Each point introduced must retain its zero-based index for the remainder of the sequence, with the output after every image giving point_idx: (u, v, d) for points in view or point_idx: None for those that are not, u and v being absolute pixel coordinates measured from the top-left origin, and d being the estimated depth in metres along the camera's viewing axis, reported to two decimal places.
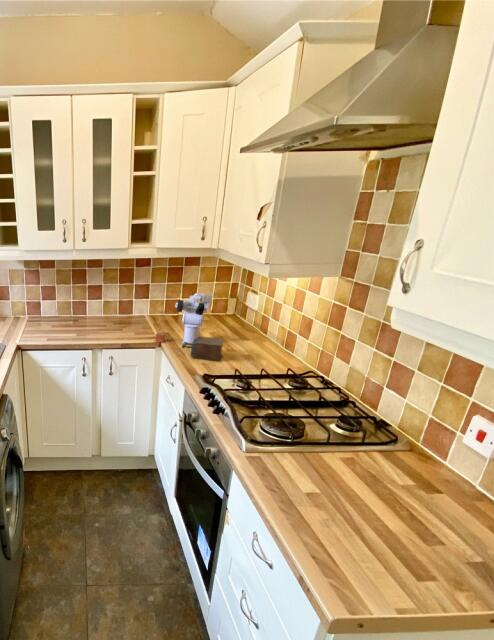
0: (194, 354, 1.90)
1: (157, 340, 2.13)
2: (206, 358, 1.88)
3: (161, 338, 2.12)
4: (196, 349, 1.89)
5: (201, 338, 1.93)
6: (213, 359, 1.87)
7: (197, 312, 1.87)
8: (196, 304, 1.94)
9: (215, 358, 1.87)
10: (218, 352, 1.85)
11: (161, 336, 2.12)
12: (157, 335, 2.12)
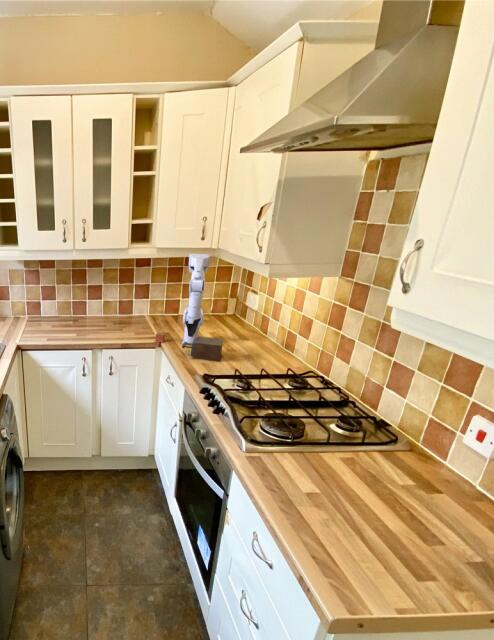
0: (194, 354, 1.90)
1: (157, 340, 2.13)
2: (206, 358, 1.88)
3: (161, 338, 2.12)
4: (196, 349, 1.89)
5: (201, 338, 1.93)
6: (213, 359, 1.87)
7: None
8: None
9: (215, 358, 1.87)
10: (218, 352, 1.85)
11: (161, 336, 2.12)
12: (157, 335, 2.12)
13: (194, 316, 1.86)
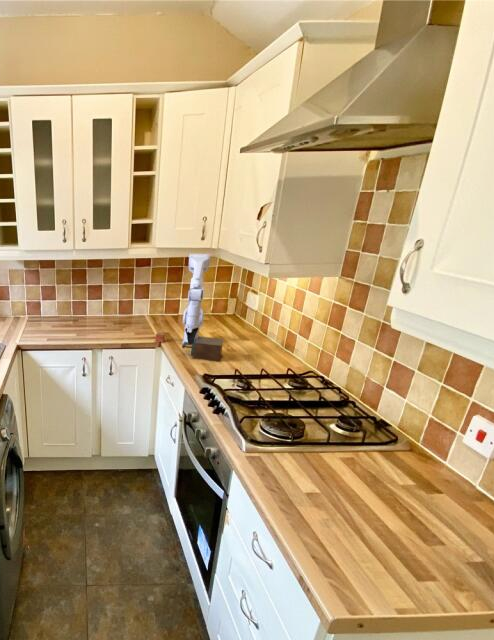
0: (194, 354, 1.90)
1: (157, 340, 2.13)
2: (206, 358, 1.88)
3: (161, 338, 2.12)
4: (196, 349, 1.89)
5: (201, 338, 1.93)
6: (213, 359, 1.87)
7: None
8: None
9: (215, 358, 1.87)
10: (218, 352, 1.85)
11: (161, 336, 2.12)
12: (157, 335, 2.12)
13: (193, 325, 1.88)
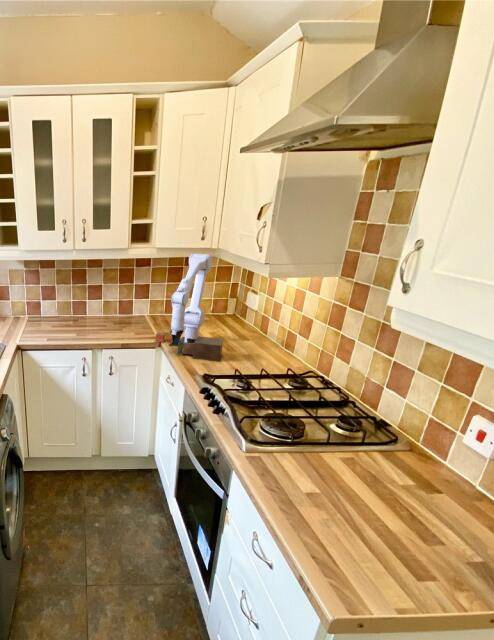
0: (194, 354, 1.90)
1: (157, 340, 2.13)
2: (206, 358, 1.88)
3: (161, 338, 2.12)
4: (196, 349, 1.89)
5: (201, 338, 1.93)
6: (213, 359, 1.87)
7: None
8: None
9: (215, 358, 1.87)
10: (218, 352, 1.85)
11: (161, 336, 2.12)
12: (157, 335, 2.12)
13: (177, 327, 1.91)
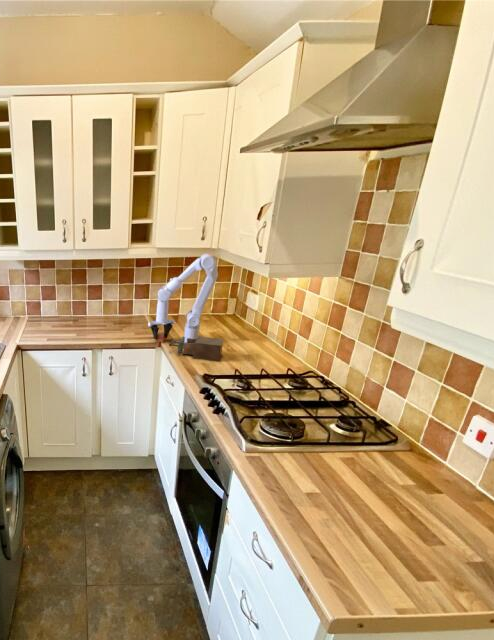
0: (194, 354, 1.90)
1: (157, 340, 2.13)
2: (206, 358, 1.88)
3: (161, 338, 2.12)
4: (196, 349, 1.89)
5: (201, 338, 1.93)
6: (213, 359, 1.87)
7: None
8: None
9: (215, 358, 1.87)
10: (218, 352, 1.85)
11: (161, 336, 2.12)
12: (157, 335, 2.12)
13: (157, 321, 2.09)
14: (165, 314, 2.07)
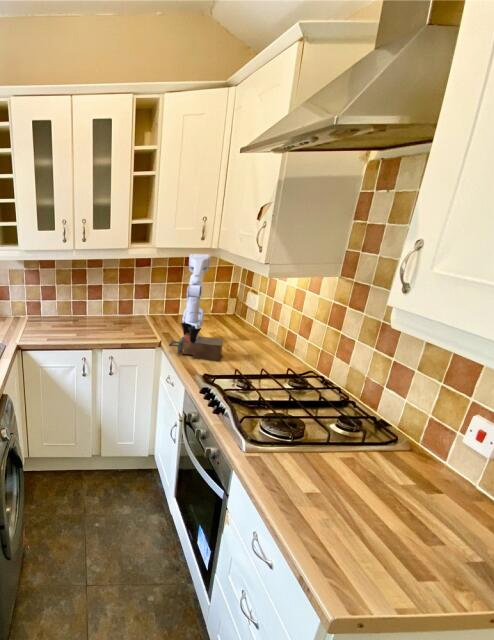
0: (194, 354, 1.90)
1: (192, 342, 1.92)
2: (206, 358, 1.88)
3: None
4: (196, 349, 1.89)
5: (201, 338, 1.93)
6: (213, 359, 1.87)
7: None
8: None
9: (215, 358, 1.87)
10: (218, 352, 1.85)
11: None
12: None
13: (195, 321, 1.87)
14: None
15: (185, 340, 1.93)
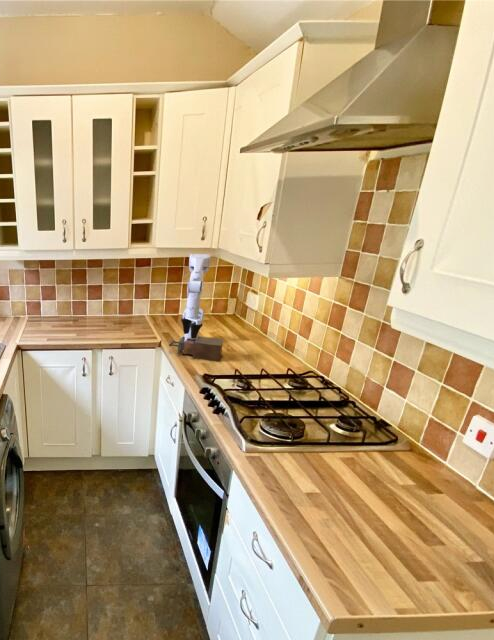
0: (194, 354, 1.90)
1: None
2: (206, 358, 1.88)
3: None
4: (196, 349, 1.89)
5: (201, 338, 1.93)
6: (213, 359, 1.87)
7: None
8: None
9: (215, 358, 1.87)
10: (218, 352, 1.85)
11: None
12: None
13: (196, 317, 1.87)
14: None
15: None
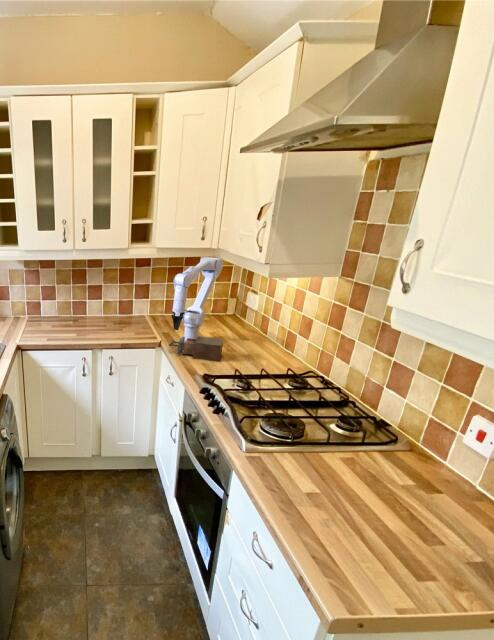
0: (194, 354, 1.90)
1: None
2: (206, 358, 1.88)
3: None
4: (196, 349, 1.89)
5: (201, 338, 1.93)
6: (213, 359, 1.87)
7: None
8: None
9: (215, 358, 1.87)
10: (218, 352, 1.85)
11: None
12: None
13: (180, 309, 1.93)
14: (185, 300, 1.94)
15: None
